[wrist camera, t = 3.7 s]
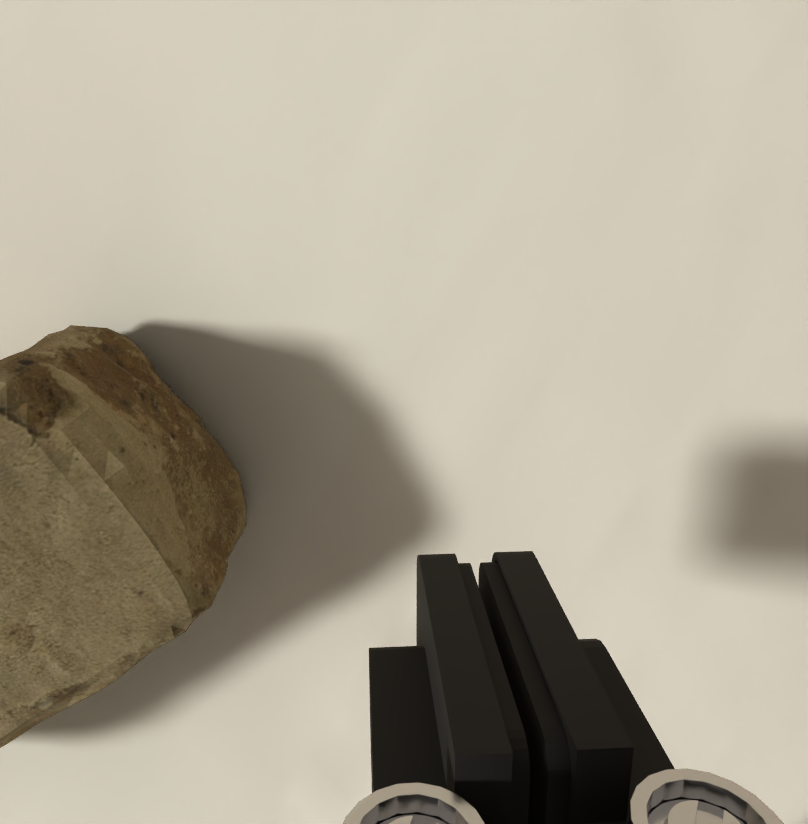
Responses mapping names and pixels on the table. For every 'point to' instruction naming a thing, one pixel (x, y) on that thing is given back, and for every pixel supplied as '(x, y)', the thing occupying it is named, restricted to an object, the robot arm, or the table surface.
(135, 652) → the stone block
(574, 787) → the robot arm
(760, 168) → the table surface
